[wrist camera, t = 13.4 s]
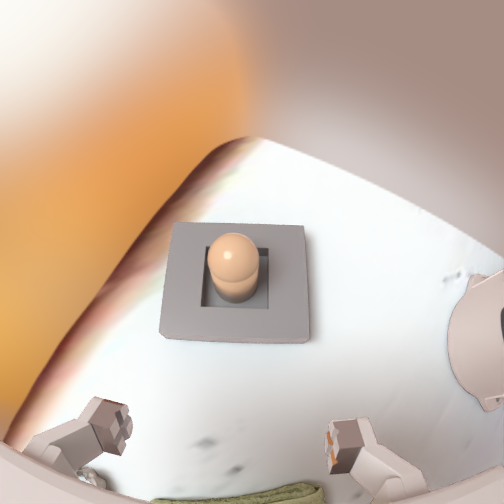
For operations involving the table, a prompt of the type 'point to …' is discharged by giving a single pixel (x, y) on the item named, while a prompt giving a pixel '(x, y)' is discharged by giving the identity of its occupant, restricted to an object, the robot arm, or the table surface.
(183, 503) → the washcloth
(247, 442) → the table surface
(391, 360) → the table surface
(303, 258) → the grey square peg hole
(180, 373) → the table surface
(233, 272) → the peach dome-topped peg
